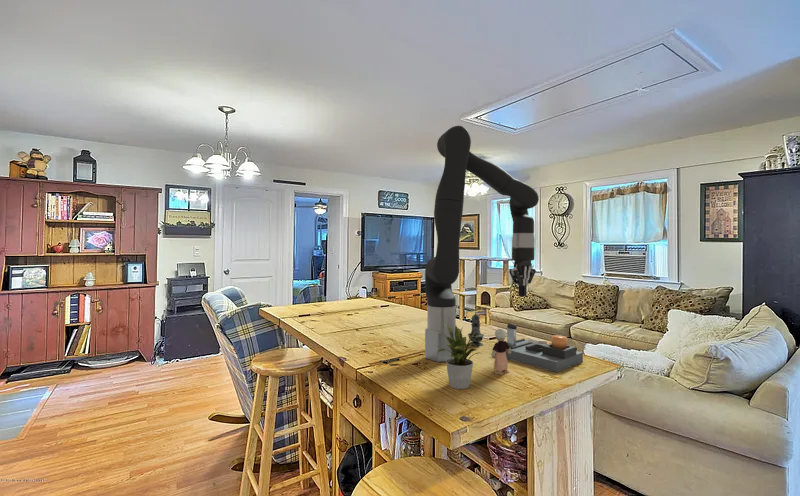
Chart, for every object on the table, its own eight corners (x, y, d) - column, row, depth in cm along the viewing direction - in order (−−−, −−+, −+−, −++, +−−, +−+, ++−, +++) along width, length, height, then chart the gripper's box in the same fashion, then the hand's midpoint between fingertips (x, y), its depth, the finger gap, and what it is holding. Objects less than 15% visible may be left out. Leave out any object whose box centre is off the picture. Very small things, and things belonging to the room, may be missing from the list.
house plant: (418, 380, 102) (418, 320, 102) (458, 372, 109) (458, 316, 109) (450, 398, 90) (450, 330, 89) (493, 388, 96) (493, 324, 96)
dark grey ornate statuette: (482, 342, 142) (482, 311, 142) (484, 346, 136) (484, 313, 136) (467, 342, 143) (467, 310, 143) (468, 346, 137) (468, 313, 137)
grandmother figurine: (501, 368, 112) (501, 326, 112) (513, 371, 110) (513, 328, 109) (487, 374, 107) (487, 330, 107) (499, 377, 104) (499, 332, 104)
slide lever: (514, 347, 124) (514, 325, 124) (506, 345, 126) (506, 323, 126) (518, 346, 125) (518, 324, 125) (509, 344, 127) (509, 322, 127)
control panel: (556, 372, 108) (556, 353, 108) (494, 355, 126) (494, 338, 126) (583, 361, 118) (583, 344, 118) (521, 347, 136) (521, 332, 136)
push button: (562, 349, 113) (562, 339, 113) (548, 346, 117) (548, 336, 117) (569, 347, 116) (569, 337, 116) (556, 344, 119) (556, 334, 119)
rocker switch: (538, 343, 119) (538, 340, 119) (527, 341, 122) (528, 338, 122) (546, 344, 122) (546, 341, 122) (536, 342, 125) (536, 339, 125)
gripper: (524, 246, 137) (523, 294, 137) (502, 246, 129) (501, 296, 129) (543, 246, 131) (542, 296, 131) (521, 246, 123) (520, 299, 123)
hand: (522, 296), depth 130 cm, fingers closed
